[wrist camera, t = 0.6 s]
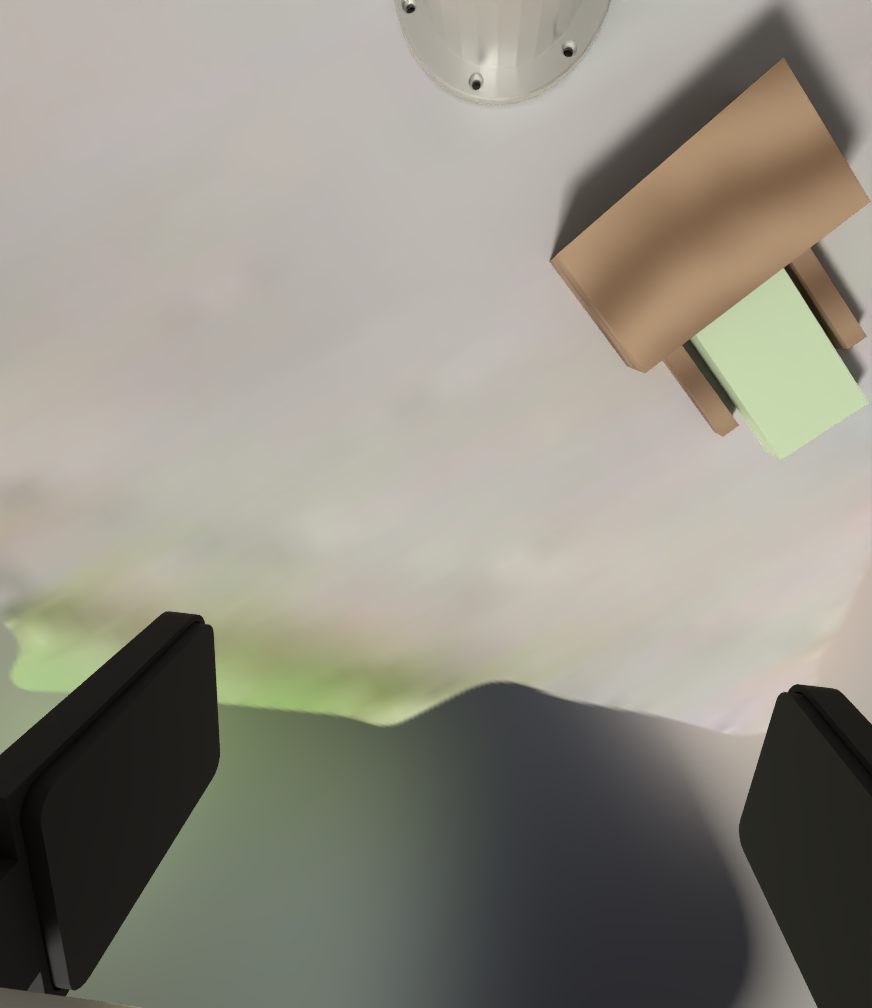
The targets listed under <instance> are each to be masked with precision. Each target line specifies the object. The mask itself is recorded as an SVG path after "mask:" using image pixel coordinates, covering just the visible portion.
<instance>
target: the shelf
mask: <svg viewBox="0 0 872 1008" xmlns="http://www.w3.org/2000/svg"><path fill="white" fill-rule="evenodd" d="M869 202H871V201H870V199H869V198H868V196H867V195H866V193H865V191H864V190H863V188H862V186H861V185H860V183H859V181H858V180H857V178H856V176H855V175H854V173H853V171H852V170H851V168H850V166H849V165H848V163H847V161H846V160H845V158H844V157H843V155H842V153H841V152H840V150H839V148H838V147H837V145H836V143H835V142H834V140H833V138H832V137H831V135H830V133H829V132H828V130H827V128H826V127H825V125H824V123H823V122H822V120H821V118H820V117H819V115H818V114H817V112H816V110H815V109H814V107H813V105H812V104H811V102H810V100H809V99H808V97H807V95H806V94H805V92H804V90H803V89H802V87H801V85H800V84H799V82H798V80H797V79H796V77H795V75H794V74H793V72H792V71H791V69H790V67H789V66H788V64H787V62H786V61H785V59H784V57H783V58H782V59H781V60H780V61H779V62H778V63H776V64H775V65H774V66H773V67H772V68H771V69H769V70H768V71H767V72H766V73H765V74H764V75H763V76H761V77H760V78H759V79H758V80H757V81H756V82H755V83H753V84H752V85H751V86H750V87H749V88H748V89H747V90H745V91H744V92H743V93H742V94H741V95H740V96H738V97H737V98H736V99H735V100H734V101H733V102H732V103H730V104H729V105H728V106H727V107H726V108H725V109H724V110H722V111H721V112H720V113H719V114H718V115H717V116H715V117H714V118H713V119H712V120H711V121H710V122H709V123H707V124H706V125H705V126H704V127H703V128H702V129H701V130H699V131H698V132H697V133H696V134H695V135H694V136H692V137H691V138H690V139H689V140H688V141H687V142H686V143H684V144H683V145H682V146H681V147H680V148H679V149H678V150H676V151H675V152H674V153H673V154H672V155H671V156H669V157H668V158H667V159H666V160H665V161H664V162H663V163H661V164H660V165H659V166H658V167H657V168H656V169H655V170H653V171H652V172H651V173H650V174H649V175H648V176H647V177H645V178H644V179H643V180H642V181H641V182H640V183H638V184H637V185H636V186H635V187H634V188H633V189H632V190H630V191H629V192H628V193H627V194H626V195H625V196H624V197H622V198H621V199H620V200H619V201H618V202H617V203H615V204H614V205H613V206H612V207H611V208H610V209H609V210H607V211H606V212H605V213H604V214H603V215H602V216H601V217H599V218H598V219H597V220H596V221H595V222H594V223H592V224H591V225H590V226H589V227H588V228H587V229H586V230H584V231H583V232H582V233H581V234H580V235H579V236H578V237H576V238H575V239H574V240H573V241H572V242H571V243H569V244H568V245H567V246H566V247H565V248H564V249H563V250H561V251H560V252H559V253H558V254H557V255H556V256H555V257H554V258H553V259H552V260H551V261H550V263H551V264H552V265H553V267H554V268H555V269H556V271H557V272H558V273H559V275H560V276H561V277H562V279H563V280H564V281H565V283H566V284H567V286H568V287H569V288H570V290H571V291H572V292H573V294H574V295H575V296H576V298H577V299H578V300H579V302H580V303H581V304H582V306H583V307H584V308H585V310H586V311H587V312H588V314H589V315H590V317H591V318H592V319H593V321H594V322H595V323H596V325H597V326H598V327H599V329H600V330H601V331H602V333H603V334H604V335H605V337H606V338H607V339H608V341H609V342H610V343H611V345H612V346H613V348H614V349H615V350H616V352H617V353H618V354H619V356H620V357H621V358H622V360H623V361H624V362H625V364H626V365H627V366H628V367H631V368H633V369H636V370H638V371H641V372H644V373H646V372H647V371H649V370H650V369H651V368H653V367H654V366H655V365H657V364H658V363H659V362H661V361H662V360H663V362H664V363H665V364H666V366H667V367H668V368H669V370H670V371H671V373H672V374H673V375H674V377H675V378H676V379H677V381H678V382H679V384H680V385H681V386H682V388H683V389H684V390H685V392H686V393H687V395H688V396H689V397H690V399H691V400H692V401H693V403H694V404H695V406H696V407H697V408H698V410H699V411H700V412H701V414H702V415H703V417H704V418H705V419H706V421H707V422H708V424H709V425H710V426H711V428H712V429H713V430H714V432H715V433H717V434H719V435H721V436H724V435H726V434H727V433H729V432H730V431H732V430H733V429H735V428H736V427H737V426H739V424H738V423H737V422H736V420H735V419H734V417H733V416H732V415H731V413H730V412H729V410H728V409H727V408H726V406H725V405H724V403H723V402H722V401H721V399H720V398H719V396H718V395H717V394H716V392H715V391H714V389H713V388H712V387H711V385H710V384H709V382H708V381H707V380H706V378H705V377H704V375H703V374H702V373H701V371H700V370H699V368H698V367H697V366H696V364H695V363H694V361H693V360H692V359H691V357H690V356H689V354H688V353H687V352H686V350H685V349H684V347H683V346H682V345H683V344H684V343H686V342H687V341H688V340H689V339H691V338H692V337H693V336H695V335H696V334H697V333H699V332H700V331H701V330H703V329H704V328H705V327H707V326H708V325H709V324H711V323H712V322H713V321H714V320H716V319H717V318H718V317H720V316H721V315H722V314H724V313H725V312H726V311H728V310H729V309H730V308H732V307H733V306H734V305H735V304H737V303H738V302H739V301H741V300H742V299H743V298H745V297H746V296H747V295H749V294H750V293H751V292H753V291H754V290H755V289H756V288H758V287H759V286H760V285H762V284H763V283H764V282H766V281H767V280H768V279H770V278H771V277H772V276H774V275H775V274H776V273H778V272H779V271H780V270H781V269H783V268H784V269H785V271H786V272H787V274H788V276H789V277H790V279H791V280H792V282H793V283H794V285H795V287H796V288H797V290H798V291H799V293H800V295H801V296H802V298H803V299H804V301H805V302H806V304H807V306H808V307H809V309H810V310H811V312H812V313H813V315H814V317H815V318H816V320H817V321H818V323H819V324H820V326H821V327H822V329H823V330H824V332H825V333H826V335H827V336H828V338H829V340H830V341H831V343H832V344H833V346H834V347H835V348H841V349H849V348H851V347H852V346H854V345H855V344H857V343H858V342H860V341H861V340H862V339H864V338H865V337H867V336H866V334H865V333H864V331H863V330H862V328H861V326H860V325H859V323H858V322H857V320H856V319H855V317H854V316H853V314H852V312H851V311H850V309H849V308H848V306H847V305H846V303H845V301H844V300H843V298H842V297H841V295H840V294H839V292H838V290H837V289H836V287H835V286H834V284H833V283H832V281H831V279H830V278H829V276H828V275H827V273H826V272H825V270H824V269H823V267H822V265H821V264H820V262H819V261H818V259H817V258H816V256H815V254H814V253H813V251H812V250H811V248H810V247H812V246H813V245H814V244H816V243H817V242H818V241H820V240H821V239H822V238H823V237H825V236H826V235H827V234H829V233H830V232H831V231H833V230H834V229H835V228H837V227H838V226H839V225H841V224H842V223H843V222H845V221H846V220H847V219H848V218H850V217H851V216H852V215H854V214H855V213H856V212H858V211H859V210H860V209H862V208H863V207H864V206H866V205H867V204H868V203H869Z"/></svg>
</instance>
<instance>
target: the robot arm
mask: <svg viewBox="0 0 872 1008" xmlns="http://www.w3.org/2000/svg"><path fill="white" fill-rule="evenodd" d="M610 2H611V0H395V5H396V10H397V15H398V18H399V21H400V24H401V27H402V30H403V34H404V36H405V38H406V40H407V42H408V44H409V46H410V48H411V50H412V53H413V55H414V56H415V57H416V59H417V60H418V62H419V63H420V64H421V66H422V67H423V69H424V70H425V71H426V73H427V74H429V75H430V76H431V77H432V78H433V79H434V80H435V81H436V82H437V83H438V84H439V85H440V86H441V87H443V88H445V89H446V90H448V91H450V92H451V93H453V94H455V95H456V96H458V97H460V98H463V99H466V100H469V101H472V102H475V103H479V104H489V105H504V104H512V103H518V102H521V101H524V100H527V99H530V98H533V97H536V96H538V95H539V94H541V93H543V92H545V91H546V90H548V89H550V88H551V87H553V86H555V85H556V84H557V83H558V82H560V81H561V80H562V79H563V78H564V77H565V76H566V75H568V74H569V73H570V72H571V71H572V70H573V69H574V68H575V67H576V65H577V64H578V63H579V62H580V60H581V59H582V58H583V57H584V55H585V54H586V53H587V52H588V50H589V48H590V47H591V45H592V43H593V41H594V40H595V38H596V36H597V34H598V33H599V31H600V29H601V26H602V24H603V21H604V19H605V16H606V14H607V12H608V8H609V5H610ZM411 7H413V8H414V9H415V11H414V12H413V13H409V14H408V13H407V11H408V9H409V8H411ZM566 50H570V51H571V52H572V56H571V57H566V56H565V55H564V51H566ZM474 83H479V84H480V85H481V87H480V89H478V90H474V89H473V88H472V86H473V84H474ZM219 758H220V743H219V725H218V706H217V687H216V668H215V649H214V633H213V628H212V626H210V625H207V624H205V621H204V619H203V617H202V616H200V615H196V614H187V613H179V612H170V611H169V612H164V613H163V614H161V615H160V616H159V617H158V618H157V619H155V620H154V621H153V622H152V623H151V624H150V625H149V626H147V627H146V628H145V629H144V630H143V631H142V632H140V633H139V634H138V635H137V636H136V637H135V638H134V639H132V640H131V641H130V642H129V643H128V644H127V645H126V646H124V647H123V648H122V649H121V650H120V651H119V652H118V653H116V654H115V655H114V656H113V657H112V658H111V659H110V660H108V661H107V662H106V663H105V664H104V665H103V666H102V667H100V668H99V669H98V670H97V671H96V672H95V673H93V674H92V675H91V676H90V677H89V678H88V679H87V680H85V681H84V682H83V683H82V684H81V685H80V686H79V687H77V688H76V689H75V690H74V691H73V692H72V693H71V694H69V695H68V696H67V697H66V698H65V699H64V700H63V701H61V702H60V703H59V704H58V705H57V706H56V707H55V708H53V709H52V710H51V711H50V712H49V713H48V714H46V716H44V717H43V718H42V719H41V720H40V721H38V722H37V723H36V724H35V725H34V726H33V727H32V728H30V729H29V730H28V731H27V732H26V733H25V734H24V735H22V736H21V737H20V738H19V739H18V740H17V741H16V742H14V743H13V744H12V745H11V746H10V747H9V748H8V749H6V750H5V751H4V752H3V753H2V754H1V755H0V1008H142V1007H136V1006H130V1005H123V1004H115V1003H108V1002H101V1001H94V1000H86V999H79V998H72V997H65V996H66V995H67V993H68V992H69V990H77V989H79V988H80V987H81V986H82V985H83V984H84V983H85V982H86V981H87V979H88V978H89V977H90V975H91V974H92V972H93V970H94V969H95V967H96V966H97V964H98V962H99V961H100V959H101V957H102V955H103V954H104V952H105V951H106V949H107V948H108V946H109V945H110V943H111V941H112V940H113V938H114V936H115V935H116V933H117V932H118V930H119V928H120V927H121V925H122V924H123V922H124V920H125V919H126V917H127V916H128V914H129V912H130V911H131V909H132V908H133V906H134V904H135V902H136V901H137V899H138V898H139V896H140V895H141V893H142V891H143V890H144V888H145V886H146V885H147V883H148V882H149V880H150V878H151V877H152V875H153V873H154V872H155V870H156V868H157V867H158V866H159V864H160V862H161V861H162V859H163V857H164V856H165V854H166V853H167V851H168V849H169V848H170V846H171V845H172V843H173V841H174V840H175V838H176V836H177V835H178V833H179V832H180V830H181V828H182V826H183V825H184V824H185V822H186V820H187V819H188V817H189V815H190V814H191V812H192V811H193V809H194V807H195V806H196V804H197V803H198V801H199V799H200V798H201V796H202V795H203V793H204V791H205V790H206V788H207V787H208V785H209V783H210V782H211V780H212V778H213V777H214V775H215V773H216V770H217V767H218V763H219ZM739 836H740V842H741V846H742V848H743V851H744V853H745V855H746V857H747V859H748V861H749V863H750V865H751V868H752V870H753V872H754V874H755V876H756V878H757V880H758V882H759V885H760V886H761V889H762V891H763V893H764V895H765V897H766V899H767V901H768V904H769V906H770V908H771V910H772V912H773V914H774V916H775V918H776V920H777V923H778V925H779V927H780V929H781V931H782V933H783V935H784V937H785V939H786V942H787V944H788V946H789V948H790V950H791V952H792V954H793V956H794V959H795V961H796V963H797V965H798V967H799V969H800V971H801V973H802V975H803V978H804V980H805V982H806V984H807V986H808V988H809V990H810V992H811V995H812V997H813V999H814V1001H815V1003H816V1005H817V1007H818V1008H872V724H871V723H870V722H869V721H868V720H867V719H866V718H865V717H864V716H863V715H862V714H861V713H860V712H859V711H858V709H856V707H855V706H854V705H853V704H852V703H851V702H850V701H849V700H848V699H847V698H846V697H845V696H844V695H843V694H842V693H841V692H840V691H839V690H837V689H833V688H825V687H816V686H808V685H799V684H797V685H794V686H792V687H791V688H790V689H789V691H788V692H783V693H781V694H780V695H779V696H778V698H777V700H776V704H775V707H774V710H773V713H772V717H771V720H770V723H769V727H768V730H767V733H766V737H765V740H764V744H763V747H762V750H761V753H760V757H759V760H758V763H757V767H756V770H755V773H754V777H753V780H752V783H751V787H750V790H749V793H748V797H747V800H746V803H745V806H744V810H743V813H742V816H741V820H740V824H739Z"/></svg>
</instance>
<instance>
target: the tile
mask: <svg viewBox="0 0 872 1008" xmlns="http://www.w3.org/2000/svg"><path fill="white" fill-rule="evenodd" d="M689 340H690V341H691V343H692V344H693V346H694V347H695V349H696V350H697V352H698V353H699V354H700V356H701V357H702V359H703V360H704V362H705V363H706V365H707V366H708V368H709V369H710V370H711V372H712V373H713V375H714V376H715V378H716V379H717V381H718V382H719V384H720V385H721V386H722V388H723V389H724V391H725V392H726V394H727V395H728V397H729V398H730V400H731V401H732V402H733V404H734V405H735V407H736V408H737V410H738V411H739V413H740V414H741V416H742V417H743V419H744V420H745V421H746V423H747V424H748V426H749V427H750V429H751V430H752V432H753V433H754V435H755V436H756V437H757V439H758V440H759V442H760V443H761V445H762V446H763V448H764V449H765V451H766V452H767V453H769V454H771V455H773V456H775V457H776V458H778V459H780V460H781V459H783V458H785V457H786V456H788V455H789V454H791V453H792V452H794V451H795V450H797V449H798V448H800V447H802V446H803V445H805V444H806V443H808V442H809V441H811V440H812V439H814V438H816V437H817V436H819V435H820V434H822V433H823V432H825V431H826V430H828V429H829V428H831V427H833V426H834V425H836V424H837V423H839V422H840V421H842V420H843V419H845V418H846V417H848V416H850V415H851V414H853V413H854V412H856V411H857V410H859V409H860V408H862V407H864V406H865V405H867V404H868V403H869V402H868V400H867V399H866V397H865V396H864V394H863V393H862V391H861V389H860V388H859V386H858V385H857V383H856V381H855V380H854V378H853V377H852V375H851V374H850V372H849V370H848V369H847V367H846V366H845V364H844V362H843V361H842V359H841V358H840V356H839V355H838V353H837V351H836V350H835V348H834V347H833V345H832V344H831V342H830V340H829V339H828V337H827V336H826V334H825V332H824V331H823V329H822V328H821V326H820V325H819V323H818V321H817V320H816V318H815V317H814V315H813V313H812V312H811V310H810V309H809V307H808V306H807V304H806V302H805V301H804V299H803V298H802V296H801V295H800V293H799V291H798V290H797V288H796V287H795V285H794V283H793V282H792V280H791V279H790V277H789V276H788V274H787V272H786V271H785V269H784V268H783V269H781V270H780V271H779V272H778V273H776V274H775V275H774V276H772V277H771V278H770V279H768V280H767V281H766V282H764V283H763V284H762V285H760V286H759V287H758V288H756V289H755V290H754V291H753V292H751V293H750V294H749V295H747V296H746V297H745V298H743V299H742V300H741V301H739V302H738V303H737V304H735V305H734V306H733V307H732V308H730V309H729V310H728V311H726V312H725V313H724V314H722V315H721V316H720V317H718V318H717V319H716V320H714V321H713V322H712V323H711V324H709V325H708V326H707V327H705V328H704V329H703V330H701V331H700V332H699V333H697V334H696V335H695V336H693V337H692V338H691V339H689Z"/></svg>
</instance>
